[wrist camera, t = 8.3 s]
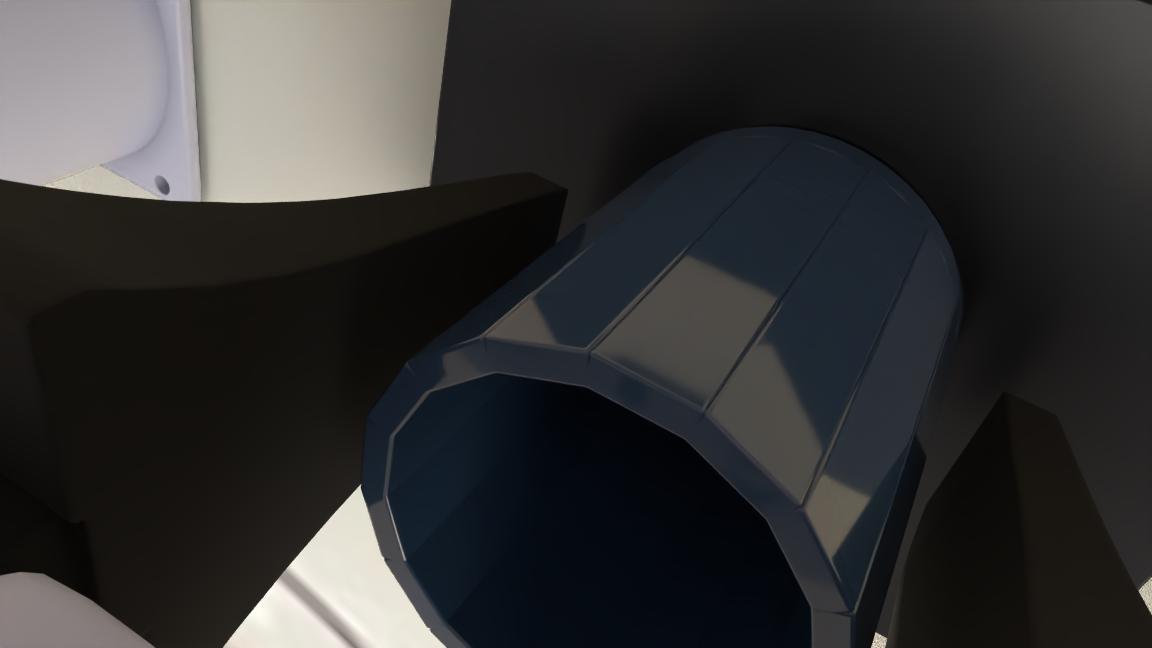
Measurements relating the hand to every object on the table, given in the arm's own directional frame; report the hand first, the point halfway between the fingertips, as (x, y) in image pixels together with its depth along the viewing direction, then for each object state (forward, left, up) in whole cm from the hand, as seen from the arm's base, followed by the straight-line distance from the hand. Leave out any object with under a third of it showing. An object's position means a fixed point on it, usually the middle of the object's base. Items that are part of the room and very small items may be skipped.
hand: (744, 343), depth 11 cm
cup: (0, 0, -1) cm, 1 cm away
